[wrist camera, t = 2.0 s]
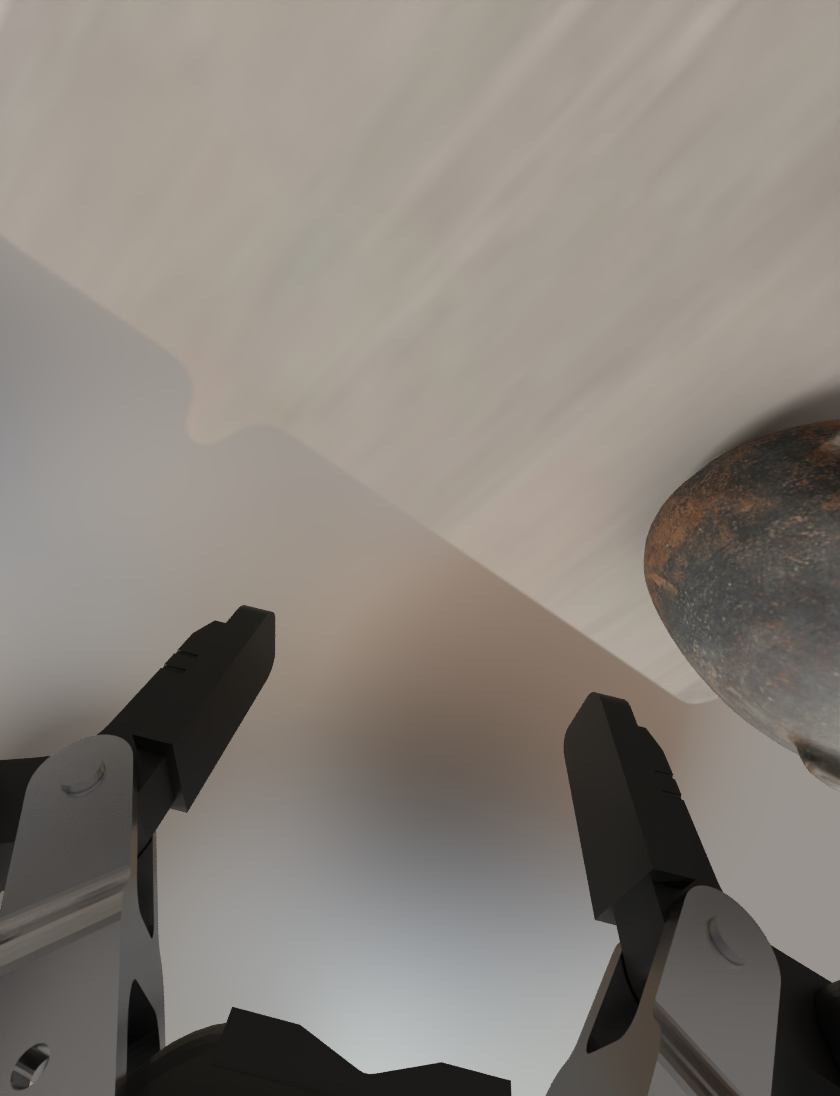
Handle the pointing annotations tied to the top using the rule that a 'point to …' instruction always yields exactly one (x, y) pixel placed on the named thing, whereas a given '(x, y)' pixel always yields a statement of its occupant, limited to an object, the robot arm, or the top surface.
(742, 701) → the jug
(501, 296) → the top surface
